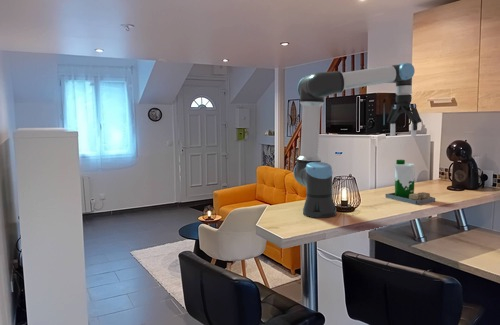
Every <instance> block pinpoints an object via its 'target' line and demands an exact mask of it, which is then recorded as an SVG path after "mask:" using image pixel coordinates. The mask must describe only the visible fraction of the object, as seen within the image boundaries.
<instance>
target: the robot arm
mask: <svg viewBox="0 0 500 325" xmlns="http://www.w3.org/2000/svg"><path fill="white" fill-rule="evenodd" d="M414 66H415V65H413V64H412V63H410V62H401V63H397V64H392V65H386V66H385V65H384V66H378V67H373V68H366V69H357V70H352V71H345V72H342V71H341V70H339V71H338V70H336V71H317V72H315V73H311V74H307V75H305V76H303V77H302V78H301V79H300V80H299V82H298V84H297V86H296V87H297V88H296V89H297V90H296V91H297V94H298V96H299V103H300V105H301V106H302V111H301V112H302V113H301V115H302V116H301V130H300V131H301V132H300V133H301V134H300V136H301V137H300V153H299V154H300V155H299V156H298V157H297V158H296V165H295V166H294V168H293V170H292V171H293V176H294V177H293V178H294V180H296V182H297V183H299V184H300V185H301V186H304V187H306V197H305V201H304V205H303V207H302V214H303V215H304V216H305V215H306V217H308V216H310V217H309V218H315V217H316V218H319V219H320V218H323V219H325V218H332V217H334V216H336V215H337V207H336V205H335V201H334V199H333V169H332V168H333V167H332V165H331V164H330V163H327V162H323V161H322V160H321V158H320V157H319V142H320V124H321V122H320V121H321V108H322V106H323V105H324V104H325V97H328V96H332V95H334V94H340V93H343V92H344V91H345V90H352V89H356V88H363V87H370V86H375V85H381V84H395V103H396V104H391V105H390V106H391V107H390V111H389V113H388V116H387V120H386V123H388V124H389V130H390V137H396V121H397V119H398V118H399V117H400V115H401V114H406V115H407V117H408V119H409V120H410V121H411V124H410V125H411V126H410V128H411V129H410V137H411V138H417V131H418V124H419V123H421V122H422V119H421V117H420V114H419V111H418V109H417V104H416V103H412V100H413V99H412V98H413V96H412V92H413V90H412V89H413V85H412V84H413V77H414V74H415V67H414ZM316 218H315V219H316Z"/></svg>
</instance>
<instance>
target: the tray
mask: <svg viewBox="0 0 500 325" xmlns="http://www.w3.org/2000/svg"><path fill="white" fill-rule="evenodd" d="M385 198H386V199H390V200H395V201H398V202H403V203H408V204H411V205H414V206H417V205H423V204H428V203H434V202H436V197H435V196H430V198H429V199H423V200H417V201H416V200H411V199H407V198H403V197H398V196H395V192H390V193H385Z"/></svg>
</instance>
